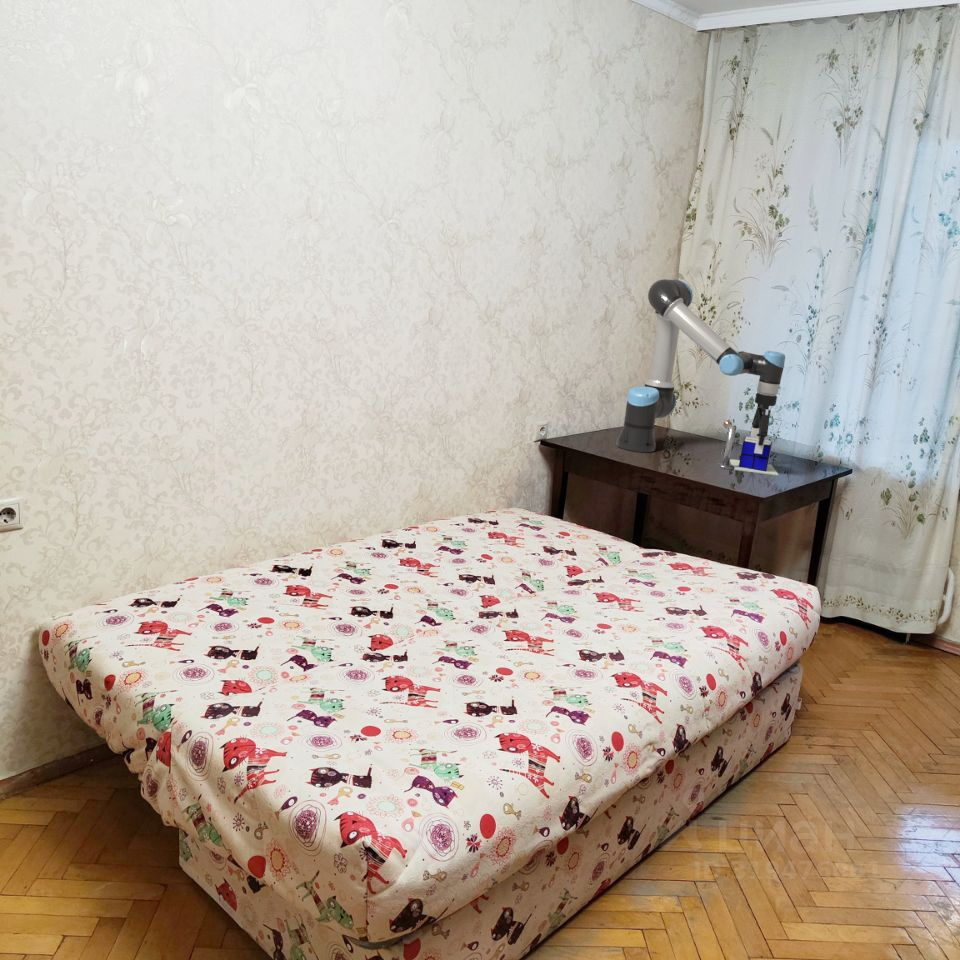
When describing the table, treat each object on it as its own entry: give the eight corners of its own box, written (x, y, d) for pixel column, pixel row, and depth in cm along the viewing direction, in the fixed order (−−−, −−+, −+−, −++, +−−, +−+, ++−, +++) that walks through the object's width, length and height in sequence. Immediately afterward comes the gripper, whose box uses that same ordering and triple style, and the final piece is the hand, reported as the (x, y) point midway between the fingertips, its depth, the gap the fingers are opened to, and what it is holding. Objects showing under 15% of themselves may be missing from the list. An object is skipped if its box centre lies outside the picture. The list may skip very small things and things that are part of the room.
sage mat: (734, 469, 330) (734, 468, 330) (728, 459, 345) (729, 458, 345) (778, 475, 328) (778, 474, 328) (771, 465, 343) (771, 464, 343)
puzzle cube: (738, 466, 333) (743, 440, 331) (740, 461, 342) (745, 436, 340) (766, 471, 330) (771, 445, 328) (767, 466, 339) (772, 440, 337)
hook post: (718, 468, 329) (725, 427, 325) (713, 457, 346) (720, 418, 342) (734, 470, 329) (742, 429, 324) (728, 459, 345) (735, 420, 341)
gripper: (783, 401, 317) (770, 458, 322) (771, 389, 340) (760, 443, 346) (762, 398, 317) (749, 455, 323) (751, 386, 341) (740, 440, 347)
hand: (755, 449), depth 335 cm, fingers open, 13 cm apart
